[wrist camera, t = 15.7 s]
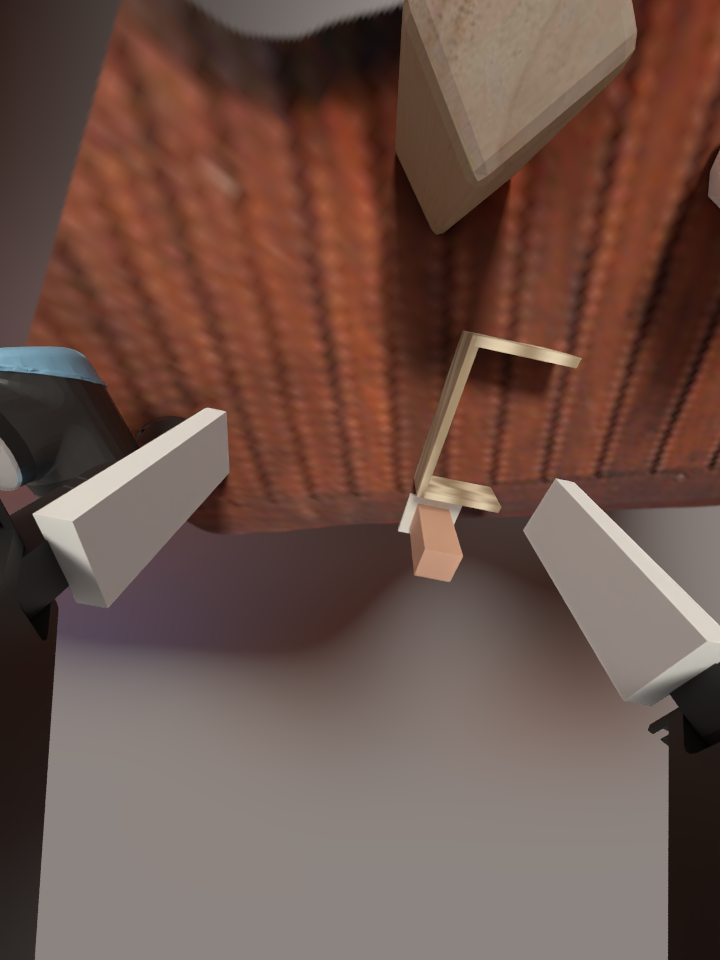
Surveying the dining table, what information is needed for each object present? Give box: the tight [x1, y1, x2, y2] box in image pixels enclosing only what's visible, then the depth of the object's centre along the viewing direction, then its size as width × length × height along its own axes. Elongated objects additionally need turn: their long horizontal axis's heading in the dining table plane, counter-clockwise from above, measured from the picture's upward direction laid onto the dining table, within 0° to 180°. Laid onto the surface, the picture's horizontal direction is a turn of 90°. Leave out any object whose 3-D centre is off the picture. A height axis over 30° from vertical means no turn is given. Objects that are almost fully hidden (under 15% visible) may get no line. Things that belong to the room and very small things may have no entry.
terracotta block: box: [409, 504, 463, 582], centre depth 53 cm, size 6×6×12 cm
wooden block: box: [395, 0, 637, 235], centre depth 25 cm, size 10×10×20 cm
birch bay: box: [414, 330, 582, 513], centre depth 46 cm, size 14×24×6 cm, turn 169°
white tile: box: [398, 493, 462, 533], centre depth 58 cm, size 10×9×1 cm
